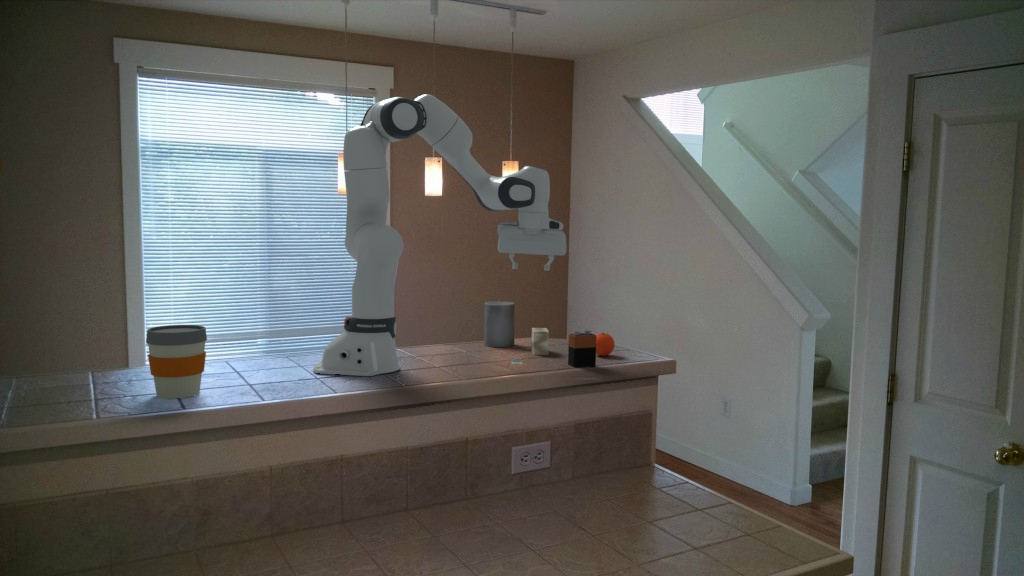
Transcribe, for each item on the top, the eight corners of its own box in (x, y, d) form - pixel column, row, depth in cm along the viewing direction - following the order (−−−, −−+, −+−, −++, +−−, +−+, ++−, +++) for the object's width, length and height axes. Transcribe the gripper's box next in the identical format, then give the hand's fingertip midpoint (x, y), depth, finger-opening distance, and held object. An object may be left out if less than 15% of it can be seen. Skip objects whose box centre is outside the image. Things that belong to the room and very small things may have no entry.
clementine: (596, 352, 234) (597, 329, 233) (618, 354, 231) (619, 331, 230) (587, 356, 227) (588, 333, 226) (610, 358, 224) (610, 334, 223)
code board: (494, 367, 208) (494, 365, 208) (493, 358, 220) (493, 357, 220) (541, 367, 209) (541, 366, 209) (537, 359, 221) (537, 357, 221)
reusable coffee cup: (139, 393, 172) (137, 327, 170) (194, 385, 180) (193, 323, 179) (159, 403, 163) (158, 334, 161) (217, 394, 172) (216, 329, 170)
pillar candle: (501, 341, 251) (501, 296, 249) (520, 345, 244) (520, 299, 242) (478, 344, 245) (478, 298, 243) (497, 348, 237) (497, 301, 236)
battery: (596, 367, 211) (597, 331, 210) (574, 368, 208) (575, 332, 207) (588, 364, 215) (589, 329, 214) (567, 365, 212) (568, 330, 211)
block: (533, 354, 226) (533, 331, 225) (531, 350, 233) (531, 327, 233) (548, 355, 226) (548, 331, 225) (545, 350, 234) (546, 328, 233)
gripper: (498, 220, 218) (495, 268, 219) (568, 224, 219) (566, 271, 220) (497, 221, 224) (495, 267, 225) (565, 224, 226) (563, 270, 227)
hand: (530, 269), depth 223 cm, fingers open, 8 cm apart
